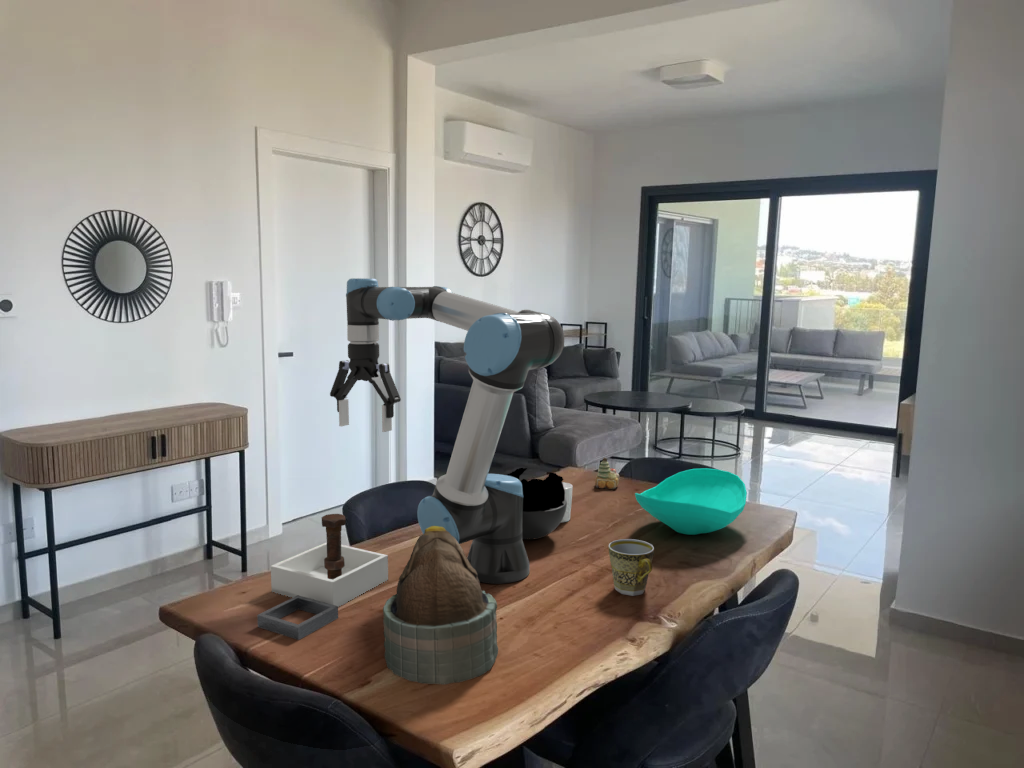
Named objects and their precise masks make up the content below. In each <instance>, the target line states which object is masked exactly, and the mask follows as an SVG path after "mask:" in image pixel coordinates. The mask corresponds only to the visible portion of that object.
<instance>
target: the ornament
mask: <svg viewBox="0 0 1024 768" xmlns="http://www.w3.org/2000/svg"><path fill="white" fill-rule="evenodd" d="M619 478H620V474H619V473H617V469H615V468H611V466H610V463H609V461H608V458H607V457H603V458H602V461H600V464H599V466H598V469H597V474H596V477H595V479H594V481H595V482H594V485H595V487H596V489H597V488H599V489H609V490H611V489H612V490H614V489H617V487H618V486H619V482H620V481H619V480H620V479H619Z"/></svg>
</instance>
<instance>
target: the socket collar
mask: <svg viewBox="0 0 1024 768" xmlns="http://www.w3.org/2000/svg"><path fill="white" fill-rule="evenodd" d="M296 611H303V612H307V613H311V614H313V616H311V617H310V618H308V619H306V620H304V621H301V622H300V623H299V624H297V623H295V622H292V621H291V622H290V621H288V620H285V619H282V618H285V617H286V616H288V615H290V614H293V612H296ZM256 618H257V628H260V629H264V630H266V631H270V632H272V633H276V634H278V635H282V636H283V637H287V638H291V639H294V640H297V641H300V640H301V639H303V638H305V637H307V636H309V635H311V634H312V633H314V632H315V631H316V632H317V631H318V630H319V629H321V628H323V627H325V626H326V625H328V624H330V623H332V622H333V621H336V620H337V619H339V607H338V606H335V605H331V604H328V603H324V602H321V601H317V600H314V599H310V598H306V597H303V596H299V595H297V596H295V597H293V598H291V597H290V598H289V599H287V600H285V601H283V602H281V603H279V604H277V605H275V606H273V607H271V608H269V609H267V610H265V611H263V612H261V613H258V614H257V615H256Z"/></svg>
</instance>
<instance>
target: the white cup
mask: <svg viewBox="0 0 1024 768" xmlns="http://www.w3.org/2000/svg"><path fill="white" fill-rule="evenodd" d="M562 483H563V487H564V490H565V500H566V502H567V506H566V511H565V514H564V517H563V519H562V521H561V522H560V524H561V523H566V522H569V521H570V520H571V509H572V503H573V502H572V500H573V484H571V483H569V482H563V481H562Z"/></svg>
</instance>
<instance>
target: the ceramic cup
mask: <svg viewBox="0 0 1024 768" xmlns="http://www.w3.org/2000/svg"><path fill="white" fill-rule="evenodd" d="M654 552H655V547H654V545H653V544H652V543H649V542H647V541H644V540H641V539H640V540H639V539H634V538H633V539H632V538H624V539H617V540H613V541H611V542H610V543H609V544H608V553H609V554H608V555H609V561H610V566H611V573H612V579H613V585H614V586H613V587H614V589H615V591H617V592H618V593H619V594H621V595H626V596H631V597H635V596H639V595H644V592H645V590H646V587H647V584H648V578H649V574H651V572H652V571H653V563H652V562H653V558H654Z"/></svg>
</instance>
